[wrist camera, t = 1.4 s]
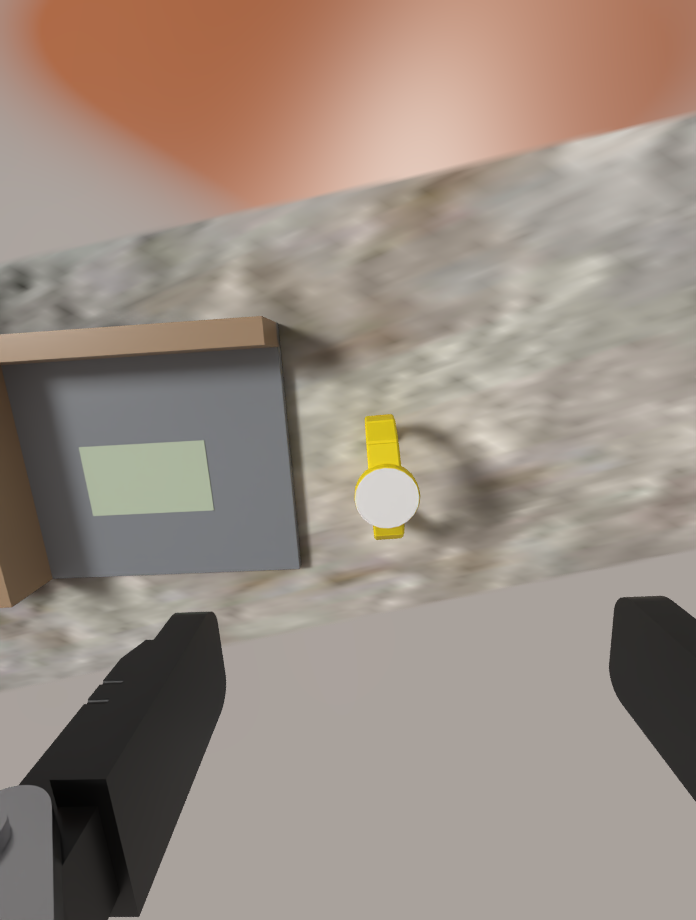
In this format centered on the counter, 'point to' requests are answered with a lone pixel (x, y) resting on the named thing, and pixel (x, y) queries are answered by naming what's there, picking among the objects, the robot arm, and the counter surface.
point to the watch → (385, 481)
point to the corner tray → (143, 453)
